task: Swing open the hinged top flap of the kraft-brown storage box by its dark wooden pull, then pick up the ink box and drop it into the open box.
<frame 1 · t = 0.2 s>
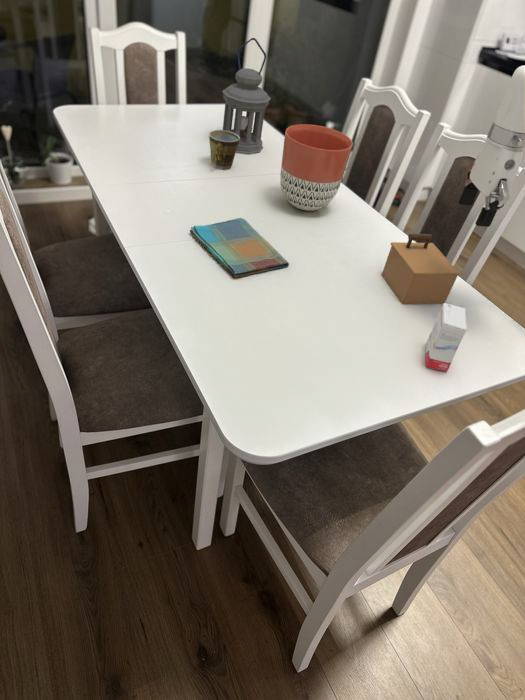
hand: (473, 214, 118), 26 cm above the table, tool pointing down, fingers open, 9 cm apart
lantern: (240, 145, 198), on the table
flap: (426, 251, 133), point 11 cm above the table, hinge at 0.0°
ceramic cup: (220, 167, 180), on the table
planter: (304, 206, 167), on the table
ink box: (434, 358, 119), on the table
dish towel: (238, 250, 142), on the table
carton: (412, 288, 140), on the table
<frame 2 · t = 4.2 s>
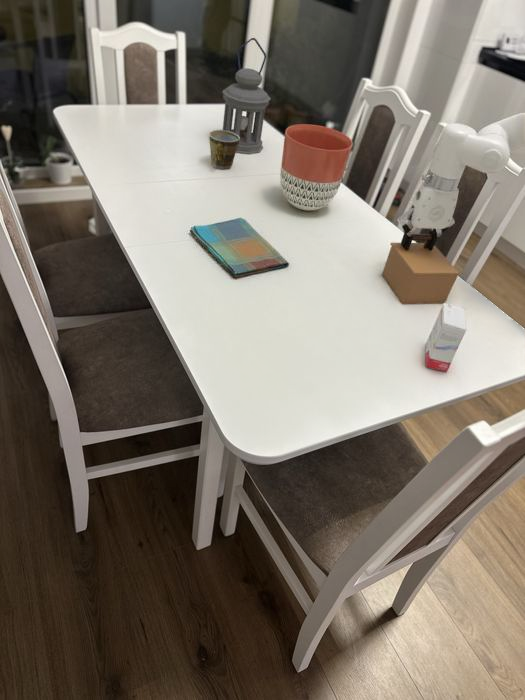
hand: (416, 247, 137), 9 cm above the table, tool pointing down, fingers closed on flap, 6 cm apart
flap: (426, 251, 133), point 11 cm above the table, hinge at -0.2°, touching carton, gripper
everything else where it was.
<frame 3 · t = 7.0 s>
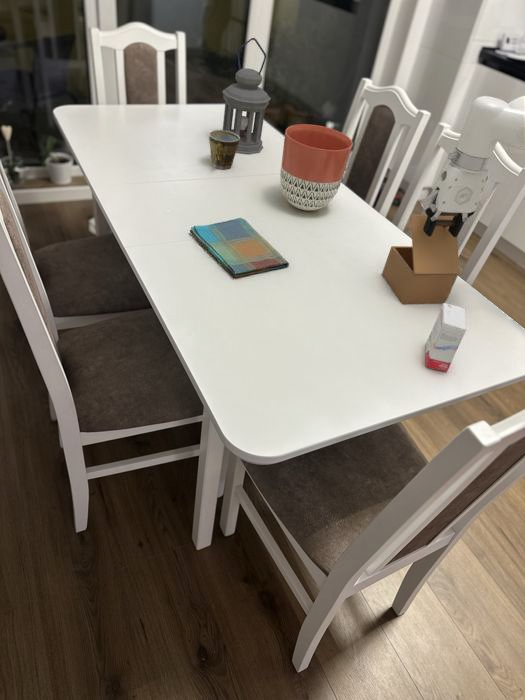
hand: (439, 233, 128), 17 cm above the table, tool pointing down, fingers closed on flap, 6 cm apart
flap: (439, 243, 128), point 15 cm above the table, hinge at 47.5°, touching gripper
everything else where it was.
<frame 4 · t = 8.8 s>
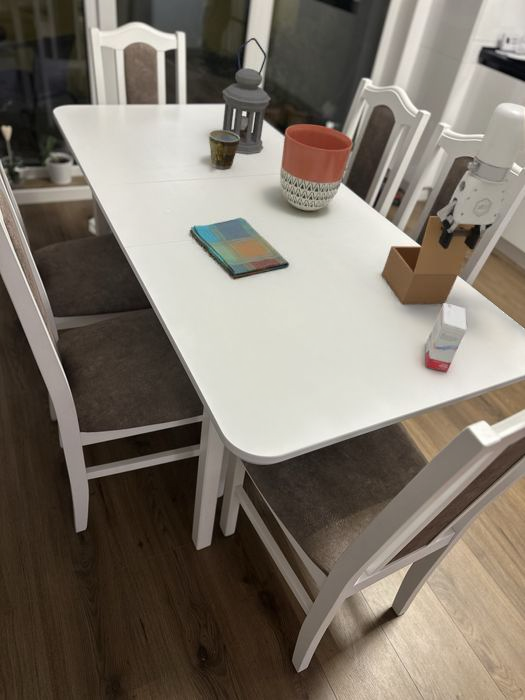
hand: (455, 245, 122), 18 cm above the table, tool pointing down, fingers closed on flap, 6 cm apart
flap: (449, 249, 124), point 16 cm above the table, hinge at 80.7°, touching gripper
everything else where it was.
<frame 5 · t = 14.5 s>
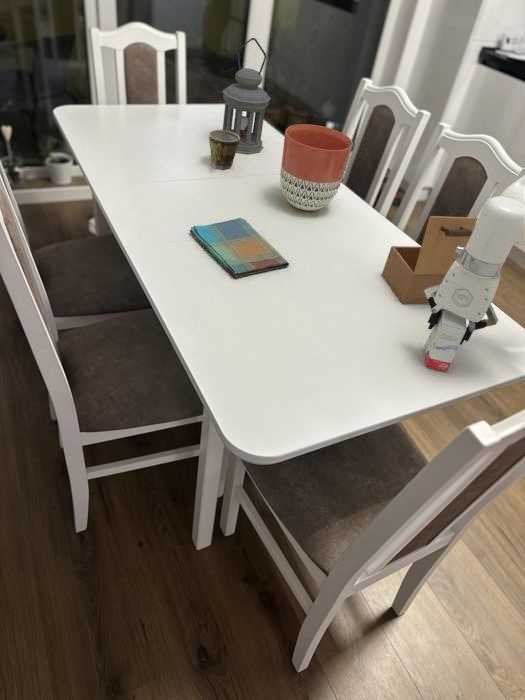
hand: (446, 333, 115), 7 cm above the table, tool pointing down, fingers closed on ink box, 6 cm apart
flap: (449, 249, 124), point 16 cm above the table, hinge at 80.8°
ink box: (434, 358, 119), on the table, touching gripper
everything else where it was.
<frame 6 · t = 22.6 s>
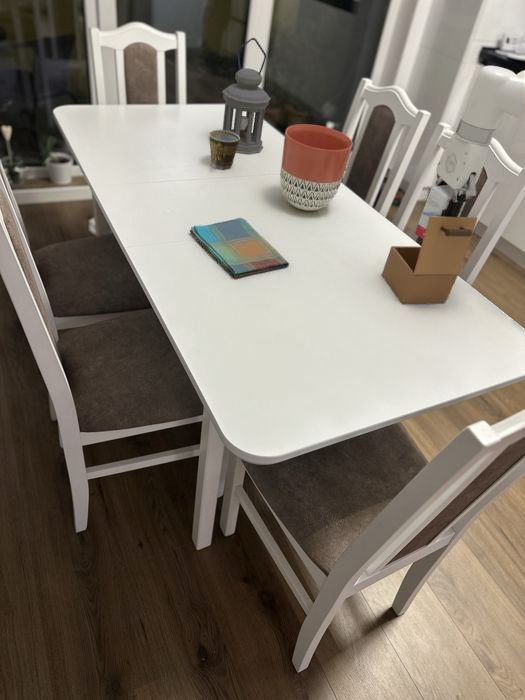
hand: (443, 209, 126), 22 cm above the table, tool pointing down, fingers closed on ink box, 6 cm apart
flap: (449, 249, 124), point 16 cm above the table, hinge at 80.7°, touching gripper
ink box: (431, 236, 130), point 15 cm above the table, touching gripper
everything else where it was.
when the fingers open (8 cm above the table, at t = 26.2 s): ink box stays where it is, resting on carton.
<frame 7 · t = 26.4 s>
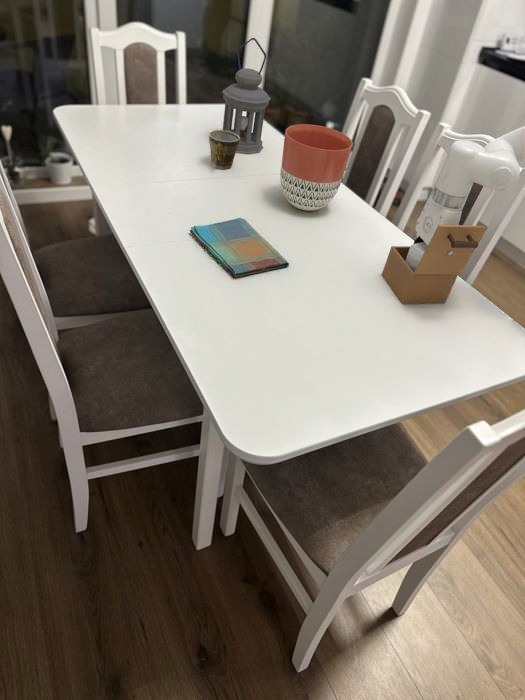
hand: (423, 262, 135), 8 cm above the table, tool pointing down, fingers open, 7 cm apart
flap: (452, 256, 123), point 16 cm above the table, hinge at 97.9°
ink box: (413, 287, 140), resting on carton
everything else where it was.
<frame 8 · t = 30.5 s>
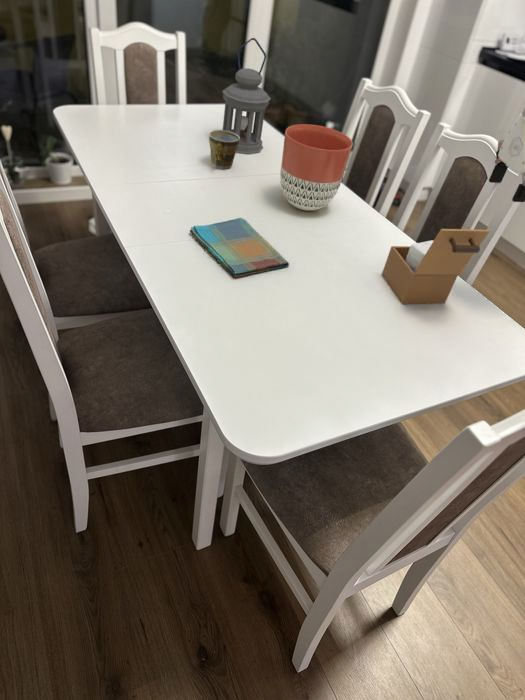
hand: (505, 191, 124), 28 cm above the table, tool pointing down, fingers open, 9 cm apart
flap: (453, 258, 123), point 15 cm above the table, hinge at 103.4°
everything else where it was.
at the end: flap at +103° (first picture: +0°); ink box inside the target area in the carton (0.0 cm from its centre), point 0.4 cm above the carton's base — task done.
